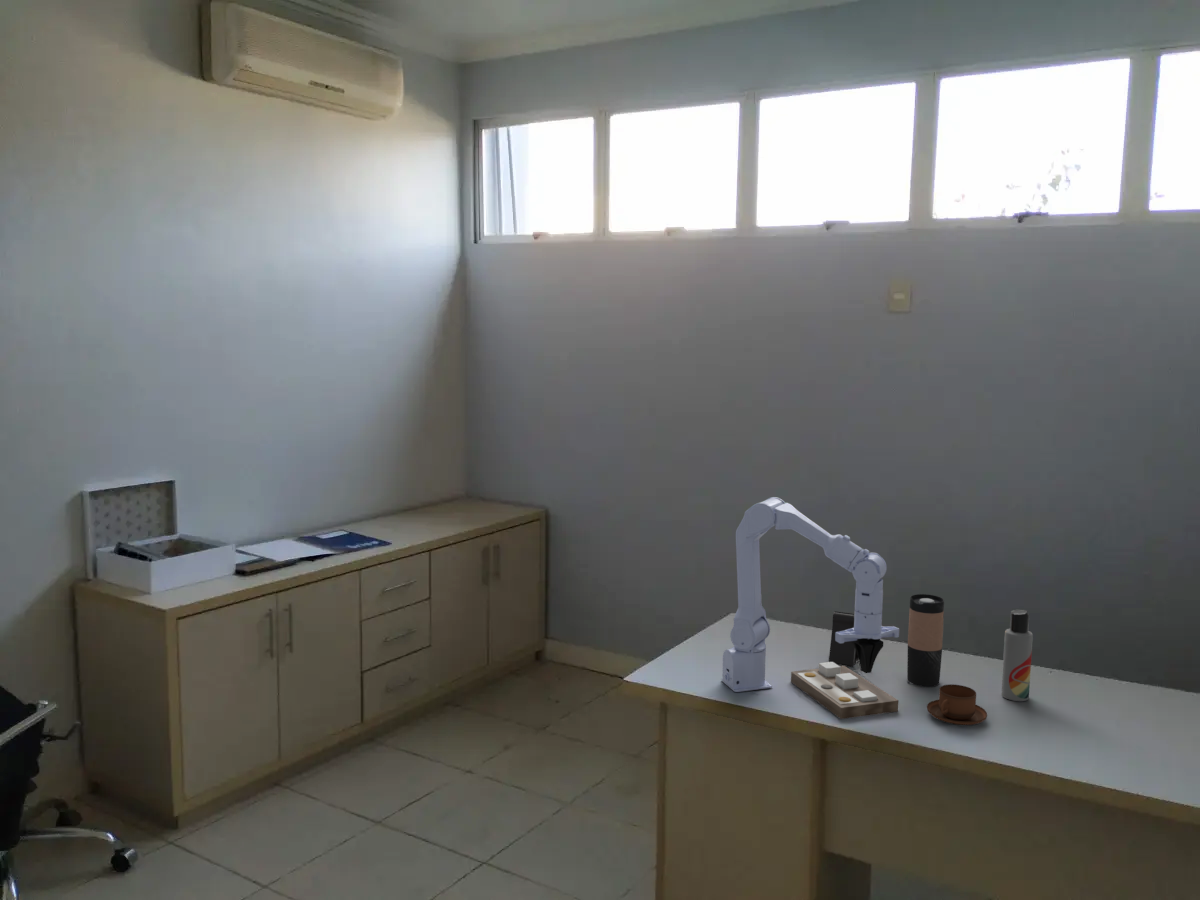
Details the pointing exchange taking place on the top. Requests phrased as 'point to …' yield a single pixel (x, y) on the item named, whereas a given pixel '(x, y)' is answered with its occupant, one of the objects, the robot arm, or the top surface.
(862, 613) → the robot arm
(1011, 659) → the lotion bottle
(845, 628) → the phone stand
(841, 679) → the button middle
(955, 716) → the cup and saucer
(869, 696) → the button front
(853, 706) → the button board
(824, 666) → the button back
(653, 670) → the top surface
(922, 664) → the travel mug
